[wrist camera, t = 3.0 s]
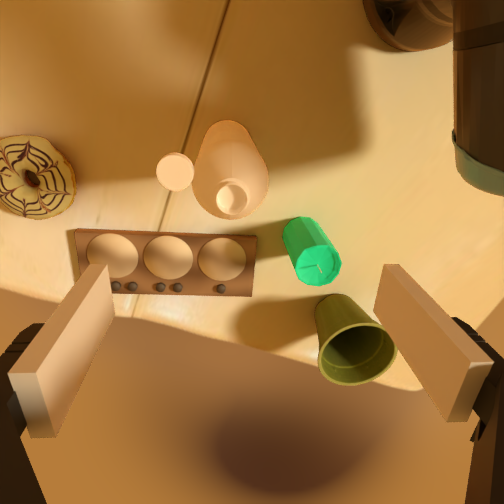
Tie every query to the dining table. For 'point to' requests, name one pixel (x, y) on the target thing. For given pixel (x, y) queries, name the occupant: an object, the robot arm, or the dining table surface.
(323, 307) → the plant pot
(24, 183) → the decorated donut
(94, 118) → the dining table surface
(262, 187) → the water bottle
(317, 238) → the candle
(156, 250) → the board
